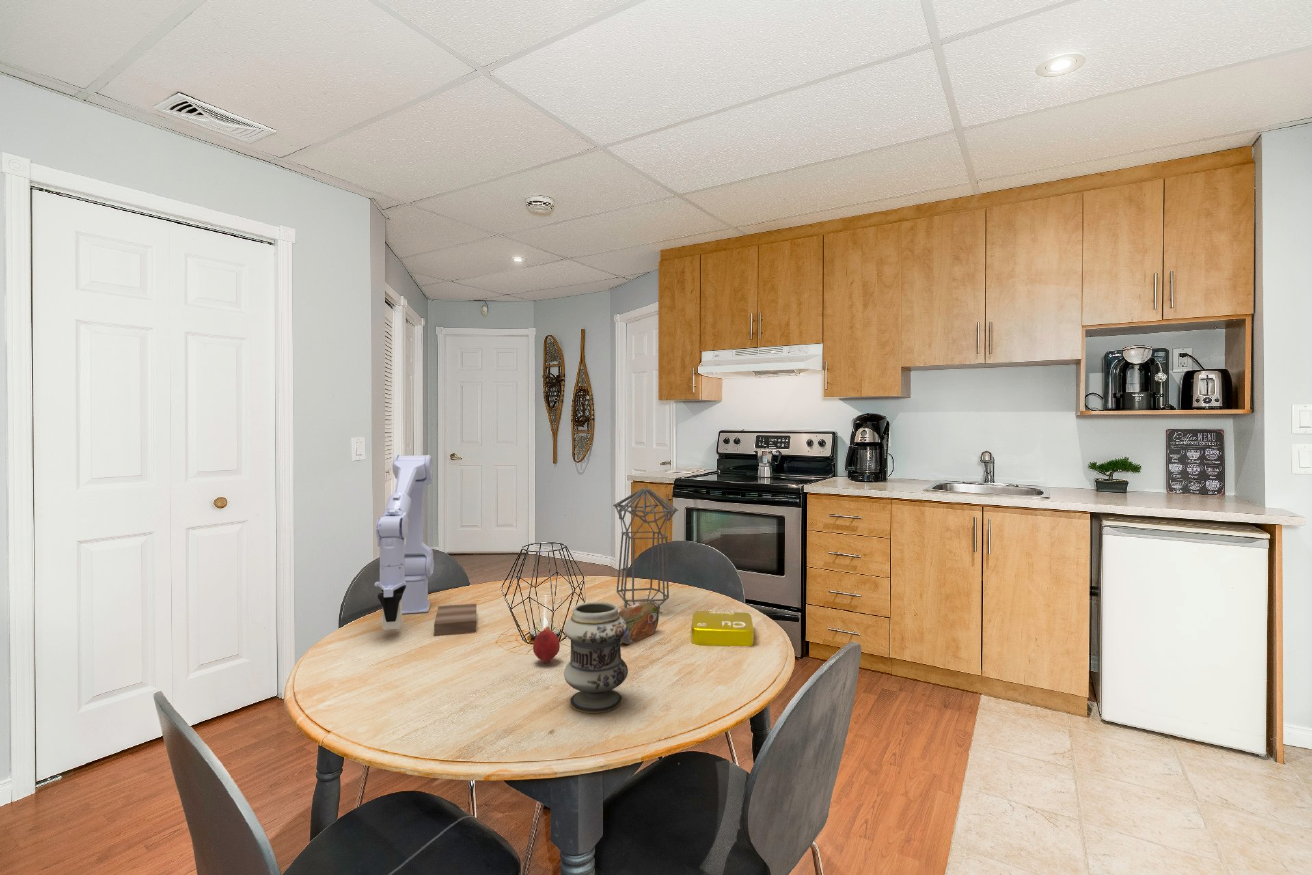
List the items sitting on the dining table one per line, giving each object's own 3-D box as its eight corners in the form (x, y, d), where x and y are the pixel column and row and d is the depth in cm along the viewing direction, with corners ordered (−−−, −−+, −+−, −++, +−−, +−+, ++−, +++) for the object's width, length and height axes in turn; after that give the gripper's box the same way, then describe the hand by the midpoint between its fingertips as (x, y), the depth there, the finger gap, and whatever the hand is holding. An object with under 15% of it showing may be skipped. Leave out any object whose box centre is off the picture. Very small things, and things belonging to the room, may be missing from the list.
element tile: (750, 628, 160) (750, 610, 160) (754, 649, 145) (754, 628, 145) (693, 626, 162) (693, 608, 162) (690, 646, 147) (690, 626, 147)
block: (384, 624, 154) (384, 600, 154) (402, 623, 155) (401, 599, 155) (382, 629, 150) (382, 605, 150) (400, 628, 151) (400, 603, 151)
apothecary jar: (596, 683, 124) (596, 594, 124) (640, 699, 117) (641, 605, 117) (550, 703, 115) (550, 607, 115) (595, 723, 107) (596, 620, 107)
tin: (621, 648, 144) (621, 613, 144) (611, 645, 146) (611, 610, 146) (659, 632, 156) (660, 599, 156) (650, 629, 158) (650, 597, 158)
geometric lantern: (609, 606, 179) (612, 486, 179) (660, 603, 184) (663, 486, 184) (622, 621, 164) (625, 490, 164) (678, 617, 169) (680, 490, 169)
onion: (553, 668, 132) (554, 631, 132) (528, 666, 133) (528, 629, 133) (563, 658, 137) (563, 623, 137) (539, 656, 139) (539, 621, 138)
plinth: (438, 616, 168) (438, 606, 168) (476, 614, 170) (476, 603, 170) (434, 635, 152) (434, 623, 152) (476, 632, 155) (476, 620, 155)
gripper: (379, 558, 158) (379, 611, 158) (369, 571, 144) (369, 629, 144) (408, 557, 160) (408, 609, 160) (401, 569, 146) (402, 626, 146)
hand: (392, 618), depth 152 cm, fingers closed on block, 4 cm apart
